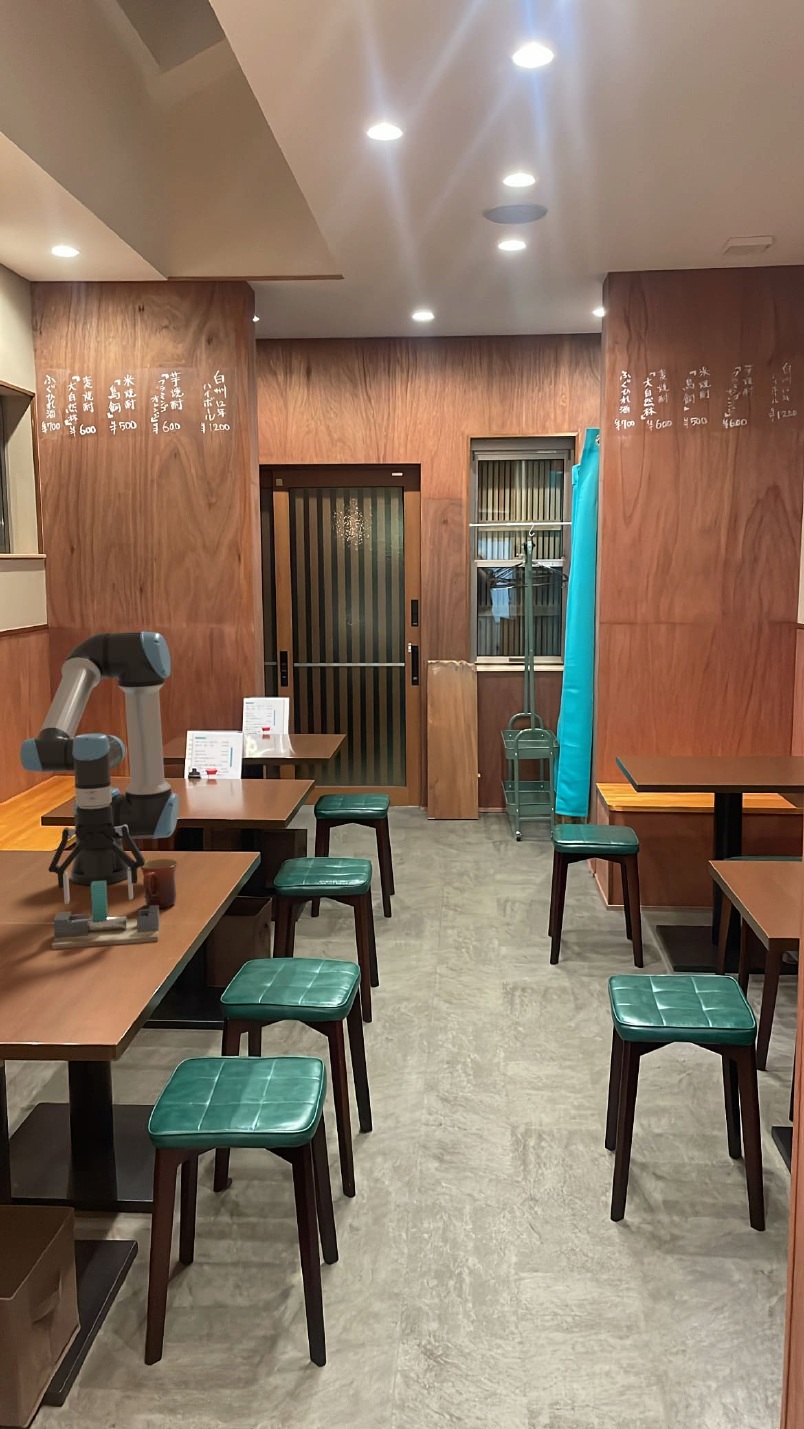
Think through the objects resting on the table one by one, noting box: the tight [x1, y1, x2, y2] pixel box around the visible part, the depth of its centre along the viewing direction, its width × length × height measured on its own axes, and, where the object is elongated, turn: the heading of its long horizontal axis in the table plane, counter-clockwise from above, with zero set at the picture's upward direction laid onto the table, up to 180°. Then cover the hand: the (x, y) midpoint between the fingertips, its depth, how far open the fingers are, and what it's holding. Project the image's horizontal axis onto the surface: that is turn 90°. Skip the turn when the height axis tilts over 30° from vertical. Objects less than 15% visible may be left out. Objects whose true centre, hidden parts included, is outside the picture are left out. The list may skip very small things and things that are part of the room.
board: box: [51, 916, 161, 950], centre depth 237 cm, size 14×22×1 cm, turn 100°
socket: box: [136, 905, 161, 932], centre depth 238 cm, size 6×4×4 cm
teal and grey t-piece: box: [69, 881, 128, 932], centre depth 235 cm, size 3×15×11 cm, turn 100°
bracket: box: [53, 911, 91, 939], centre depth 235 cm, size 6×7×4 cm
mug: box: [140, 858, 178, 910], centre depth 256 cm, size 12×9×10 cm
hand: (99, 900), depth 236 cm, fingers open, 13 cm apart
